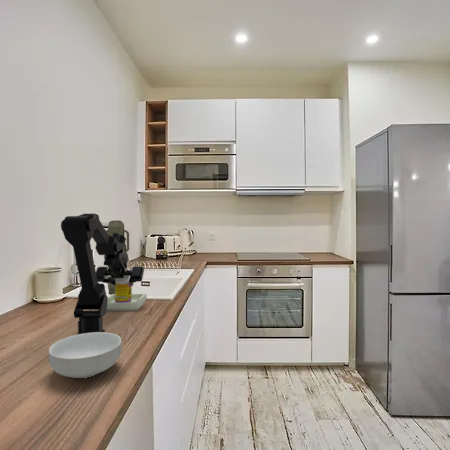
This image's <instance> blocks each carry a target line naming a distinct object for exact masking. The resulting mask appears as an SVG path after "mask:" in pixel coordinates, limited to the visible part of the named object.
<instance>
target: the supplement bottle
mask: <svg viewBox="0 0 450 450" xmlns="http://www.w3.org/2000/svg"><path fill="white" fill-rule="evenodd" d="M129 279H130V276H124V278H118V279H116V281H115V303H131V297H132V294H133V293H132V292H133V291H132V288H133V286H131V285H130V283H129Z"/></svg>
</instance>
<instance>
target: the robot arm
mask: <svg viewBox="0 0 450 450" xmlns="http://www.w3.org/2000/svg"><path fill="white" fill-rule="evenodd" d="M60 229H61V231H62V234H63V237H64V239H65V240H66V242H68V243H69V244H70V245H71V246H72V249H73V251H74V252H73V253H74V258H75V261H76V267H77V271H78V276H79V281H80V286H81V289H80V291H79V293H78V295H77V301H76V304H75V307H74V310H73V318H74V319H78V321H77V335H78V334H83V333H93V332H106V329H104V325H103V324H104V323H103V322H104V321H103V320H104V319H103V317H105V315H106V314H107V313H108V311H107V302H108V295H107V291H106V286H105V284H107V285H108V284H110V285H113V286H115V281H116V280H115V278H124V276H129V278H130V279H129V283H130V285H131V286H132V287H134V283H136V282H142V281H143V278H144V273H145V269H144V266H142V265H138V266H137V265H135V266H132V267H131V268H130V269H128V262H129V255H128V252H126V253H122V252H123V249H124V245H125V244H126V242H127V237H126V236H123V235H120V234H119V233H113V235H112V236H110V235H108V233H107V232H106V231H107V229H105V227H104V225H103V224H102V222H101V221H100V216H99V215H98V214H96V213H95V212H94V213H92V212H90V213H83V214H79V215H67V216H65V217H64V219H63V220H62V221H61V223H60ZM92 239H93V241H94V242H95V244H96V245H95V250H96V253H97V254H98V255H99V256H103V259H104V261H103V266H98V267H95V262H94V255H93V252H92V246H91V240H92ZM104 283H105V284H104Z"/></svg>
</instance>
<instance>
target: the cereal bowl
mask: <svg viewBox="0 0 450 450" xmlns="http://www.w3.org/2000/svg"><path fill="white" fill-rule="evenodd" d="M122 340H123V339H122V338H121V337H120V336H119V335H118V334H116V333H111V332H106V331H104V332H93V333H83V334H78V333H77V334H73V335H70V336H67V337H64V338H62V339H59V340H57V341H56V342H54V343H53V344H51V345H50V346H49V349H48V362H49V365H50V368H52V369H51V370H53V371H54V372H55V373H57V374H58V375H60V376H63V377H67V378H72V379H75V378H85V377H89V376H92V375H95V374H98V373H99V374H101V373H103V372H104V371H106V370H108V369H109V368H111V367H112V366H114V365H115V364H116V362H117V361H118V360H119V358H120V356H121V353H122V347H123V341H122ZM100 372H101V373H100ZM99 374H98V375H99ZM85 379H86V378H85Z"/></svg>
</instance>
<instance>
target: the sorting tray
mask: <svg viewBox="0 0 450 450" xmlns="http://www.w3.org/2000/svg"><path fill="white" fill-rule="evenodd" d="M107 298H108V302H107V312H115V311H116V312H130V311H131V312H136V311H139V309H140V308H141V307H142V306H143V305H144V304H145V303H146V302H147V301H146V300H148V299H147V293H132V297H131V303H115V294H112V295H109V296H107Z"/></svg>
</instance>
